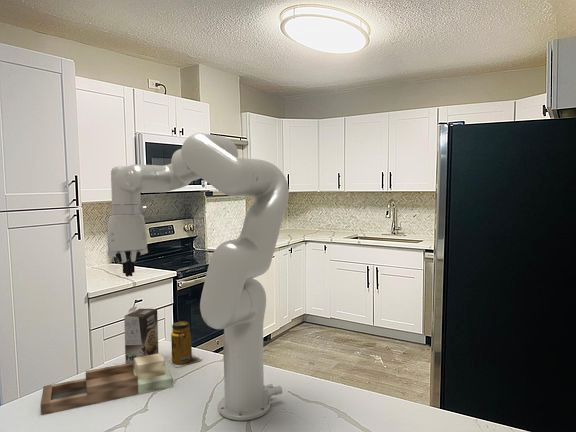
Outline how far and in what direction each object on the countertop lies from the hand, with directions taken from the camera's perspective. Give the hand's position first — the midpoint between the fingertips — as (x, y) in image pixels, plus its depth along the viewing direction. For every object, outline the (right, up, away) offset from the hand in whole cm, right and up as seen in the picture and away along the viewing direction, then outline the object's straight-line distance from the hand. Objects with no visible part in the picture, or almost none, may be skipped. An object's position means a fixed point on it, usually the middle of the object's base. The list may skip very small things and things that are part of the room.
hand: (128, 275), depth 121 cm
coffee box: (0, -29, +11) cm, 31 cm away
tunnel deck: (-2, -30, -7) cm, 31 cm away
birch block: (+7, -27, -2) cm, 28 cm away
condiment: (+13, -29, +13) cm, 34 cm away
